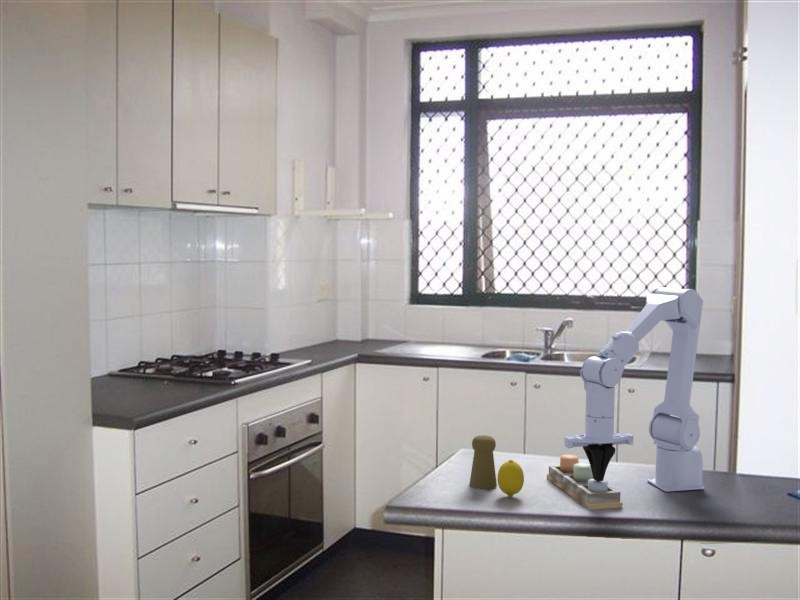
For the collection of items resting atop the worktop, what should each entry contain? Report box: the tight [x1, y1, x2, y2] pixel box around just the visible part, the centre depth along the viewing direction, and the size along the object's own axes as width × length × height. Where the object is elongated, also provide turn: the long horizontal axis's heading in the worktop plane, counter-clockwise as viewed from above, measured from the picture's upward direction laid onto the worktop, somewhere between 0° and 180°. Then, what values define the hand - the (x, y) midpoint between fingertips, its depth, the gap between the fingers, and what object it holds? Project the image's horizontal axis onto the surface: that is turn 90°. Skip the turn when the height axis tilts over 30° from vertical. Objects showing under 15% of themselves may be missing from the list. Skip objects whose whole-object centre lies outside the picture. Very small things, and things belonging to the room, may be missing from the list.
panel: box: [546, 464, 624, 511], centre depth 180 cm, size 22×7×3 cm, turn 13°
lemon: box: [497, 459, 525, 498], centre depth 176 cm, size 6×6×8 cm
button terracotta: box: [559, 454, 580, 473], centre depth 187 cm, size 4×4×3 cm
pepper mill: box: [468, 435, 498, 490], centre depth 184 cm, size 6×6×11 cm
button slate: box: [588, 479, 609, 492], centre depth 173 cm, size 4×4×3 cm
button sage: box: [573, 462, 592, 482], centre depth 180 cm, size 4×4×3 cm
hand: (598, 479), depth 173 cm, fingers closed
